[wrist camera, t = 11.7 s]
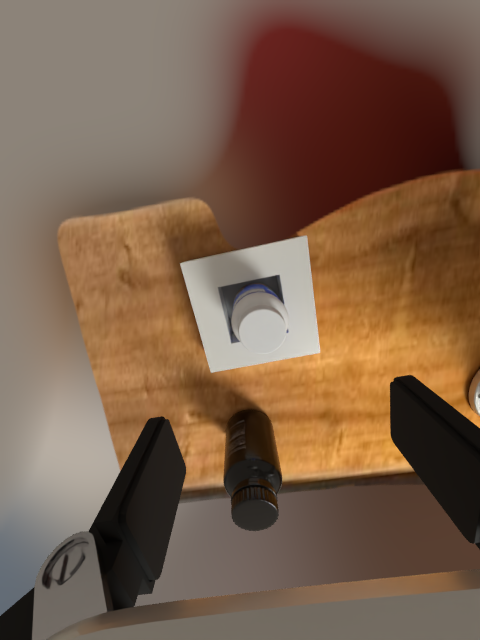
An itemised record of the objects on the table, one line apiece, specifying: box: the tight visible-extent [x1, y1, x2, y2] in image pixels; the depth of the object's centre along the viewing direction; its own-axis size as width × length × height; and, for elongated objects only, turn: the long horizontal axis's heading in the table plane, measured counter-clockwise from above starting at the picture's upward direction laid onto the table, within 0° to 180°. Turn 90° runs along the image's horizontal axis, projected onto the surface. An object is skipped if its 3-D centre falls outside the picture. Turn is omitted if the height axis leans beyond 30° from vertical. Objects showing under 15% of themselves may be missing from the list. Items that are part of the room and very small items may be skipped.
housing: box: [180, 236, 320, 373], centre depth 27 cm, size 13×13×4 cm
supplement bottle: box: [224, 410, 282, 531], centre depth 29 cm, size 7×7×12 cm
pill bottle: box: [231, 283, 289, 354], centre depth 24 cm, size 5×5×10 cm
